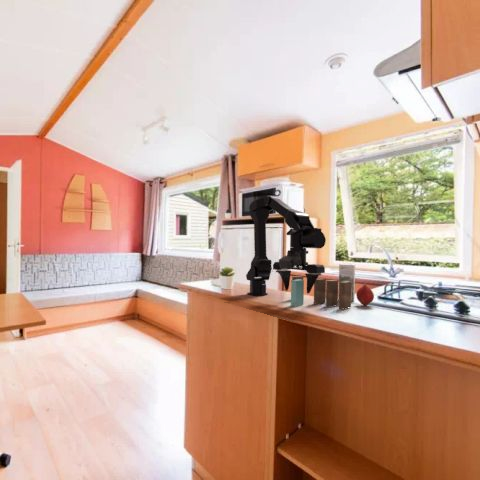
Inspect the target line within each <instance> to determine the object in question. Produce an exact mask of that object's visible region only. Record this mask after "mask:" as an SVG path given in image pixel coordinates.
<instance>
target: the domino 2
mask: <svg viewBox="0 0 480 480" xmlns="http://www.w3.org/2000/svg"><path fill="white" fill-rule="evenodd" d="M304 282H305V280H304V279H303V280H301V279H298V280H292V279H290V283H291V284H290V285H291V286H290V306H291V307H301V306H304V298H305V297H304V296H305V295H304V294H305V293H304V292H305V291H304V290H305V286H304V285H305V283H304Z"/></svg>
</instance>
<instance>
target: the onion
mask: <svg viewBox="0 0 480 480" xmlns="http://www.w3.org/2000/svg"><path fill="white" fill-rule="evenodd" d="M374 298H375V294H374V292H373V290H372V289H371V288H370V287H369V286H368V285H367V283H364V284H363V286H361V287H359V288H358V290H357V291H356V299H357V300H358V302H359V303H360V304H361V305H362V306H363V307H366V306H368V305H370V303H372V302H373V301H374Z"/></svg>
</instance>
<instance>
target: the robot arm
mask: <svg viewBox="0 0 480 480" xmlns="http://www.w3.org/2000/svg"><path fill="white" fill-rule="evenodd" d="M248 209H249V217H250V218H251V219H252V221H253V233H254V234H253V236H254V237H253V238H254V239H253V240H254V243H253V244H254V246H253V247H254V257H253V258H252V260H251V262H250V268H249V270H247V273H246V274H245V277H246V280H247V281H249V292H246V294H247V295H252V296H258V297H261V296H267V295H268V294H269V293H268V292H267V284H266V283H267V281H269V280H270V277H271V273H272V270H275V273H278V275H280V276H281V280H282V282H283V286H284V289H285V291H288V290H289V288H290V283H291V273H292V270H297V271H305V272H306V273H305V274H304V275H305V278H306V294H311V291H312V288H314V283H315V281H316V279H319V276H322V274H325V273H326V271H325V270H326V268H325V266H324V264H320V263H319V264H317V263H311V264H309V262H307V254H309V250H307V249H323V248H324V246H325V245H326V236H325V234H324V232H322V228H321V227H315V226H314V225H313V223H312V221H311V219H310V215H309V214H307V213H306V212H304V211H301V210H300V211H299V210H298V209H297V210H296V209H294V208H293V207H291V206H289V205H288V204H286V203H285V202H284V201H282V200H281V199H279V197H278V196H275V195H269V194H268V195H265V196H264V197H261V198H259V199H256V200H253V201H252V202H251V203H250V204H249V206H248ZM271 211H274V212H276V213H278V215H280V216H281V217H283V219H284V222H285V224H286V225H287V226H288V228H290V229H289V230H288V231H287V232H286V234H285V235H287V236H289V237H290V238H289V239H290V241H289V242H290V243H289V250H287V253H286V255H284V256H282V257H281V258H279V259H278V261H275V262H273V263H272V259H269V258H268V256H267V229H266V226H267V225H266V224H267V223H266V222H267V220H268V219H269V217H270V212H271Z"/></svg>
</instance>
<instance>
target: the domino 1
mask: <svg viewBox="0 0 480 480" xmlns="http://www.w3.org/2000/svg"><path fill="white" fill-rule="evenodd" d="M298 279H301V280H304V276H302V275H296V276H291V280H298Z"/></svg>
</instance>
